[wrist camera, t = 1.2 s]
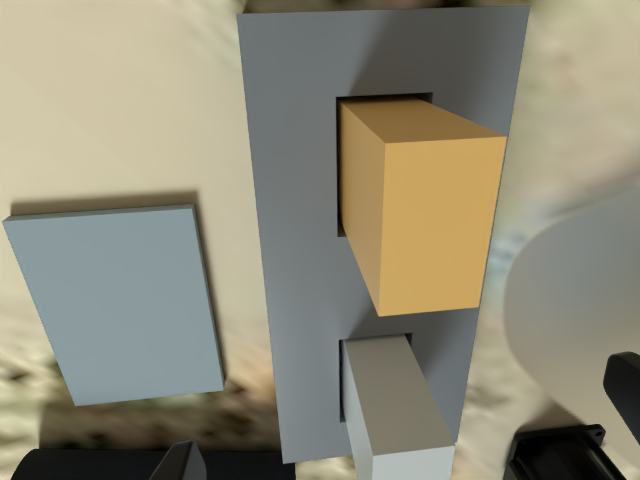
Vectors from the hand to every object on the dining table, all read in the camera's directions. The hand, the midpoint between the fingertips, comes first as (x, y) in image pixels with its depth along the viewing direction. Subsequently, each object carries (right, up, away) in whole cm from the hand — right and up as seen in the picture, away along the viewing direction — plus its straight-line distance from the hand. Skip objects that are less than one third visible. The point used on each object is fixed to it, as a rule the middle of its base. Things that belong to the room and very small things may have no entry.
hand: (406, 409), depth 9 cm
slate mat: (-11, 0, +12) cm, 17 cm away
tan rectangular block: (0, +8, +10) cm, 13 cm away
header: (0, +3, +13) cm, 13 cm away
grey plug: (+1, -2, +15) cm, 15 cm away
